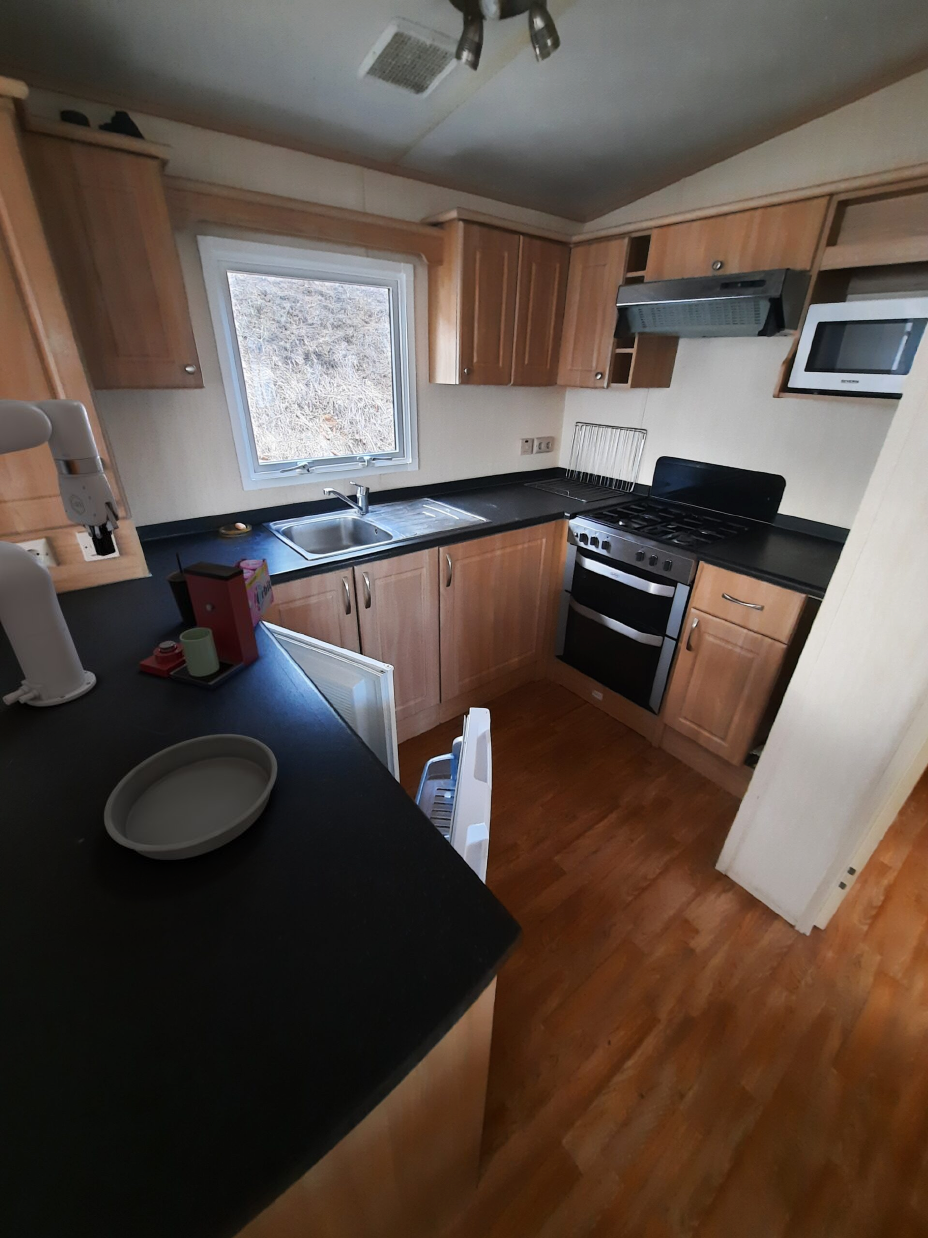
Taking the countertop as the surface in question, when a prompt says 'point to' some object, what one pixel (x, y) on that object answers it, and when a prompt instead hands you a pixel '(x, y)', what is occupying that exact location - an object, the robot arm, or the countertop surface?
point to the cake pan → (192, 796)
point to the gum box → (257, 586)
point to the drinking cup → (182, 594)
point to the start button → (167, 647)
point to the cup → (199, 651)
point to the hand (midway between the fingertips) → (106, 553)
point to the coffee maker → (221, 620)
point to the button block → (164, 661)
